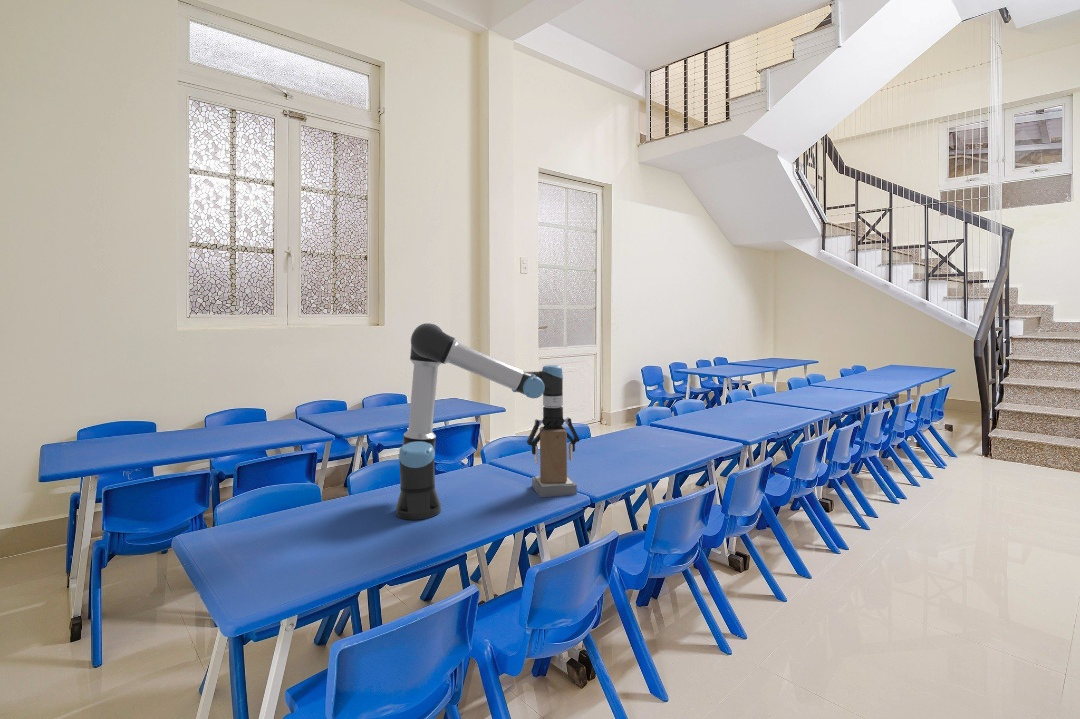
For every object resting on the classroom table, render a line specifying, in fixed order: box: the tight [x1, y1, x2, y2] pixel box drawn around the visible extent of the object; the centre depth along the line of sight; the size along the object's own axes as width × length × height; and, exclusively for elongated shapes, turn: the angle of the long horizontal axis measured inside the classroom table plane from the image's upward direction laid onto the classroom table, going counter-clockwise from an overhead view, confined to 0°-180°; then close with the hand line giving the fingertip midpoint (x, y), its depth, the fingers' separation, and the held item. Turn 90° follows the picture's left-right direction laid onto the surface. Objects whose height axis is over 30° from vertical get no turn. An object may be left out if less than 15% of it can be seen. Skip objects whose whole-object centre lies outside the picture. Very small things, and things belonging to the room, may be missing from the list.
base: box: [531, 475, 578, 498], centre depth 220 cm, size 14×14×4 cm
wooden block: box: [539, 425, 568, 483], centre depth 218 cm, size 10×10×20 cm
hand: (553, 461), depth 219 cm, fingers open, 13 cm apart
